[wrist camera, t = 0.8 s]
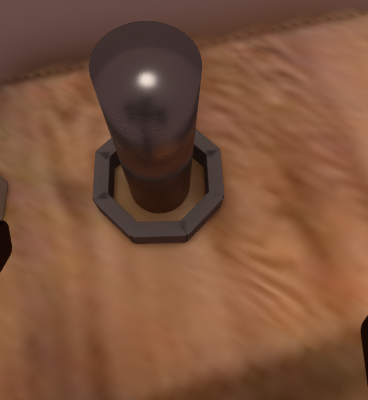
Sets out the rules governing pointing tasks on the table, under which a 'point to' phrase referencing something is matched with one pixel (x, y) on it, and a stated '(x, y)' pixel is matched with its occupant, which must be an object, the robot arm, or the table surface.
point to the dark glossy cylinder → (150, 107)
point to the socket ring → (159, 230)
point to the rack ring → (2, 195)
